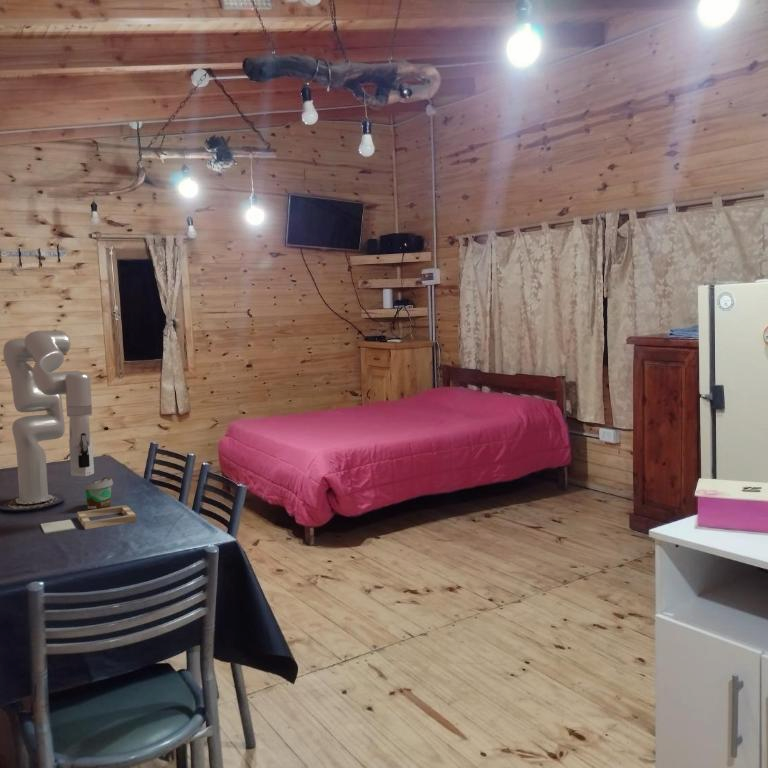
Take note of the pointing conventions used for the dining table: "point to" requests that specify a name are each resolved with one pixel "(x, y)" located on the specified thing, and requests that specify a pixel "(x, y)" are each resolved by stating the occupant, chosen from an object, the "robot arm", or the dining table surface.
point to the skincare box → (75, 463)
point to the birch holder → (87, 524)
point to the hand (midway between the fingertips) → (81, 464)
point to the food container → (99, 493)
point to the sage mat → (57, 526)
